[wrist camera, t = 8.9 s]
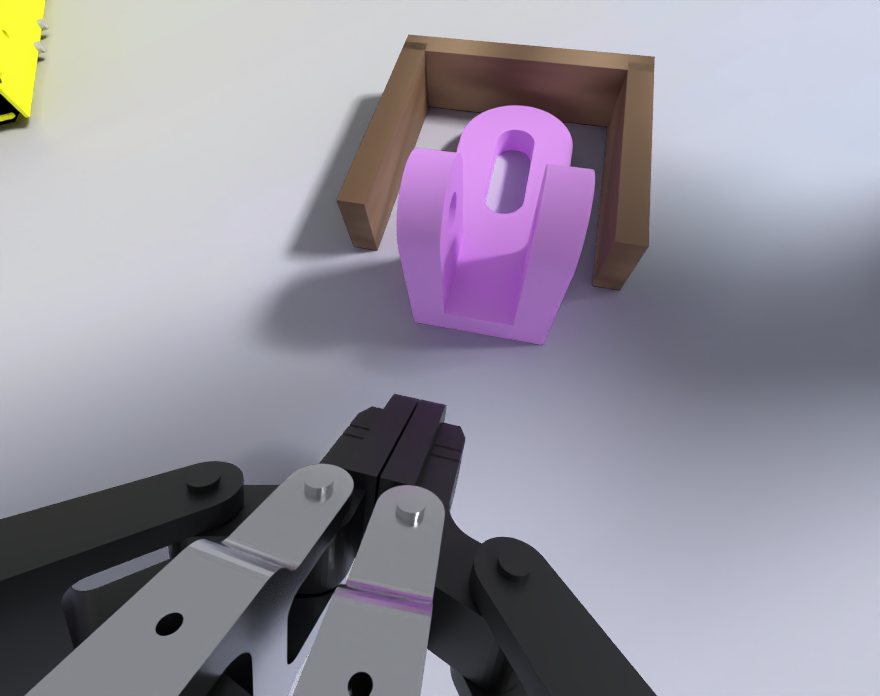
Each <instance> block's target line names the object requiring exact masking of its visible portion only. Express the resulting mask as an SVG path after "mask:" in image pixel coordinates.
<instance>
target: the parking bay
mask: <svg viewBox="0 0 880 696" xmlns="http://www.w3.org/2000/svg"><path fill="white" fill-rule="evenodd" d="M654 59H655V57H651V56H640V55H629V54H618V53H607V52H596V51H584V50H573V49H562V48H551V47H540V46H529V45H518V44H506V43H495V42H484V41H473V40H462V39H451V38H439V37H428V36H417V35H408V37H407V39H406V41H405V44H404V46H403V48H402V51H401V53H400V55H399V58H398V60H397V62H396V64H395V67H394V69H393V71H392V74H391V76H390V78H389V81H388V83H387V85H386V87H385V90H384V92H383V94H382V97H381V99H380V101H379V104H378V106H377V108H376V110H375V113H374V115H373V117H372V120H371V122H370V124H369V127H368V129H367V131H366V133H365V136H364V138H363V140H362V143H361V145H360V147H359V150H358V152H357V154H356V156H355V159H354V161H353V163H352V166H351V168H350V170H349V172H348V175H347V177H346V179H345V182H344V184H343V186H342V189H341V191H340V193H339V195H338V198H337V203H338V205H339V208H340V211H341V214H342V216H343V219H344V222H345V224H346V227H347V230H348V232H349V235H350V238H351V240H352V243H353V246H354V247H360V248H367V249H373V250H378V247H379V245H380V242H381V239H382V236H383V233H384V231H385V228H386V225H387V222H388V220H389V217H390V214H391V211H392V208H393V206H394V203H395V200H396V197H397V195H398V192H399V189H400V186H401V181H402V176H403V172H404V169H405V165H406V163H407V160H408V158H409V156H410V154H411V152H412V151H413V150H414V147H415V144H416V142H417V139H418V136H419V133H420V131H421V128H422V125H423V122H424V119H425V117H426V114H427V111H428V108H429V107H438V108H446V109H455V110H464V111H473V112H482V113H483V112H485V111H488V110H490V109H493V108H497V107H502V106H513V105H517V106H528V107H533V108H537V109H540V110H543V111H545V112H548V113H549V114H551V115H553V116H555V117H556V118H557V119H559V120H560V121H561V122H570V123H579V124H588V125H597V126H605V127H607V134H606V144H605V155H604V165H603V176H602V186H601V196H600V207H599V217H598V227H597V238H596V248H595V259H594V269H593V279H592V286H598V287H604V288H610V289H616V290H620V289H621V287H622V286H623V284H624V283H625V281H626V280H627V278H628V277H629V275H630V274H631V272H632V271H633V269H634V268H635V266H636V265H637V263H638V262H639V260H640V259H641V257H642V256H643V254H644V253H645V251H646V250H647V248H648V243H649V213H650V182H651V151H652V120H653V89H654Z"/></svg>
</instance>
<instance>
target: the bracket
mask: <svg viewBox="0 0 880 696" xmlns="http://www.w3.org/2000/svg"><path fill="white" fill-rule="evenodd" d="M572 149H573V143H572V138H571V135H570V132H569V131H568V129H567V128H566V126H565V125H564V124H563V123H562V122H561V121H560V120H559V119H557V118H556V117H555V116H553V115H551V114H549V113H548V112H545V111H543V110H540V109H537V108H533V107H528V106H517V105H513V106H502V107H497V108H493V109H490V110H488V111H485V112H483V113H481V114H479V115H478V116H476V117H475V118H474V119H472V120H471V121H470V122H469V123H468V124H467V126H466V127H465V128H464V130H463V132H462V135H461V138H460V141H459V145H458V148H457V152H456V153H455V152H447V151H439V150H430V149H422V148H415V149H414V150H413V151H412V152H411V154H410V156H409V158H408V160H407V163H406V165H405V169H404V172H403V176H402V181H401V186H400V192H399V199H398V209H397V243H398V249H399V254H400V259H401V263H402V268H403V273H404V277H405V282H406V286H407V291H408V296H409V300H410V305H411V309H412V314H413V319H414V322H417V323H422V324H428V325H433V326H439V327H445V328H450V329H456V330H461V331H467V332H472V333H478V334H483V335H489V336H495V337H500V338H506V339H511V340H517V341H522V342H528V343H533V344H539V345H543V344H544V341H545V339H546V337H547V334H548V332H549V330H550V328H551V325H552V323H553V321H554V319H555V316H556V314H557V312H558V309H559V307H560V305H561V303H562V300H563V298H564V296H565V294H566V291H567V289H568V287H569V284H570V282H571V280H572V278H573V275H574V273H575V270H576V267H577V264H578V261H579V258H580V255H581V251H582V248H583V244H584V240H585V236H586V232H587V228H588V224H589V219H590V214H591V209H592V203H593V196H594V188H595V171H594V170H593V169H586V168H578V167H570V165H571V157H572ZM510 150H515V151H520V152H522V153H524V154H526V155H527V156H528V157H529V159H530V162H531V165H530V171H529V176H528V182H527V187H526V192H525V198H524V203H523V205H522V206H521V208H520V209H518V210H517V211H515V212H513V213H508V214H501V213H496V212H494V211H492V210H490V209H489V208H488V207H487V206H486V204H485V203H486V199H487V194H488V190H489V186H490V181H491V177H492V173H493V169H494V164H495V160H496V158H497V156H498V155H499V154H501V153H503V152H505V151H510Z"/></svg>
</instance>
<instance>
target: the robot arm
mask: <svg viewBox="0 0 880 696" xmlns="http://www.w3.org/2000/svg"><path fill="white" fill-rule="evenodd" d="M445 414H446V405H443V404H439V403H434V402H430V401H425V400H419V399H416V398H411V397H407V396H402V395H398V394H394V395H393V396H392V397H391V399H390V400H389V402H388V403H387V405H386V406H385V408H384V409H381V408H376V407H370V408H368V409H367V410H365V411H363V412H361V413H359V414H358V415H357V416H356V417H355V419H354V420H353V421H352V422H351V424H350V426H348V428H347V429H346V430H345V431H344V433H343V435H341V436H340V438H339V439H338V440H337V442H336V443H335V444H334V445H333V447H332V448H331V449H330V451H329V452H328V453H327V454H326V456H325V457H324V458H323V459H322V461H321V462H320V463H319V464H313V465H308V466H305V467H302V468H300V469H298V470H296V471H295V472H293V473H292V474H291V475H290V476H289V477H288V478H287V479H286V480H285V481H284V482H283V483H282V484H281V485H244V481H243V474H242V471H241V470H240V469H239V468H238V467H237V466H235V465H233V464H230V463H227V462H219V461H211V462H203V463H198V464H194V465H191V466H187V467H184V468H180V469H177V470H173V471H170V472H166V473H162V474H159V475H155V476H152V477H148V478H145V479H141V480H138V481H134V482H131V483H127V484H124V485H120V486H117V487H113V488H110V489H106V490H103V491H99V492H96V493H92V494H88V495H85V496H81V497H78V498H74V499H71V500H67V501H64V502H60V503H57V504H53V505H50V506H46V507H43V508H39V509H36V510H32V511H29V512H25V513H21V514H18V515H14V516H11V517H7V518H4V519H0V696H288V695H289V692H290V689H291V686H292V684H293V681H294V679H295V677H296V675H297V673H298V671H299V669H300V668H301V666H302V664H303V662H304V661H305V659H306V657H307V655H308V653H309V652H310V654H309V656H308V659H307V661H306V664H305V666H304V669H303V671H302V674H301V676H300V679H299V681H298V684H297V686H296V689H295V691H294V694H293V696H420V694H421V687H422V680H423V673H424V666H425V659H426V652H427V649H428V650H430V651H431V652H432V653H434V654H435V655H436V656H438V657H439V658H440V659H442V660H443V661H444V662H446V663H447V664H449V665H450V671H451V676H452V680H453V682H454V685H455V687H456V689H457V692H458V694H459V696H657V695H656V694H655V693H654V692H653V690H652V689H651V688H650V687H649V686H648V684H647V683H646V682H645V681H644V679H643V678H642V677H641V676H640V675H639V673H638V672H637V671H636V670H635V668H634V667H633V666H632V665H631V664H630V662H629V661H628V660H627V659H626V658H625V656H624V655H623V654H622V653H621V651H620V650H619V649H618V648H617V647H616V645H615V644H614V643H613V642H612V640H611V639H610V638H609V637H608V636H607V634H606V633H605V632H604V631H603V629H602V628H601V627H600V626H599V625H598V623H597V622H596V621H595V620H594V618H593V617H592V616H591V615H590V614H589V612H588V611H587V610H586V609H585V607H584V606H583V605H582V604H581V603H580V601H579V600H578V599H577V598H576V596H575V595H574V594H573V593H572V592H571V590H570V589H569V588H568V587H567V585H566V584H565V583H564V582H563V581H562V579H561V578H560V577H559V576H558V574H557V573H556V572H555V571H554V570H553V568H552V567H551V566H550V565H549V564H548V562H547V561H546V560H545V559H544V557H543V556H542V555H541V554H540V553H539V552H538V551H537V550H535V549H534V548H533V547H531V546H530V545H528V544H527V543H525V542H523V541H520V540H517V539H514V538H510V537H495V538H491V539H489V540H487V541H485V542H484V543H482V544H481V543H479V542H478V541H476V540H474V539H472V538H471V537H469V536H468V535H466V534H465V533H464V532H463V531H461V530H460V529H459V528H458V527H457V525H456V524H455V523H454V521H453V519H452V517H451V515H450V509H451V505H452V501H453V497H454V493H455V489H456V484H457V479H458V474H459V469H460V464H461V459H462V454H463V448H464V443H465V436H464V434H463V432H462V429H461V427H460V426H456V425H451V424H447V423H444V420H445ZM166 546H168V547H169V555H170V559H169V560H166V561H164V562H161V563H159V564H156V565H154V566H151V567H149V568H146V569H144V570H141V571H139V572H136V573H134V574H131V575H129V576H127V577H124V578H122V579H119V580H117V581H114V582H112V583H109V584H107V585H104V586H102V587H99V588H96V589H93V590H89V591H78V590H75V589H73V588H72V587H71V586H72V585H73V584H75V583H76V582H78V581H79V580H81V579H83V578H85V577H88V576H90V575H93V574H95V573H98V572H101V571H103V570H106V569H108V568H111V567H114V566H116V565H119V564H121V563H124V562H127V561H129V560H132V559H135V558H137V557H140V556H142V555H145V554H148V553H150V552H153V551H155V550H158V549H161V548H163V547H166ZM354 559H355V561H354ZM353 561H354V563H353ZM352 563H353V566H352V569H351V571H350V574H349V577H348V579H347V581H346V575H347V574H348V572H349V569H350V567H351V565H352ZM310 650H311V651H310Z"/></svg>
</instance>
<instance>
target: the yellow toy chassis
mask: <svg viewBox="0 0 880 696" xmlns="http://www.w3.org/2000/svg"><path fill="white" fill-rule="evenodd" d="M45 1H46V0H0V125H3V124H7V123H11V122H15V121H16V119H17V117H18V115H19V113H21V114H22V115H23V116H25V117H26V118H28V117H30V111H31V104H32V97H33V89H34V82H35V74H36V67H37V60H38V53H42V52H46V49H45V47H44V46H43V44H42V43H41V42H40V38H41V31H42V30H47V29H49V27H48V25H47V23H46V22H45V21H44V20H43V15H44V8H45Z"/></svg>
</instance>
